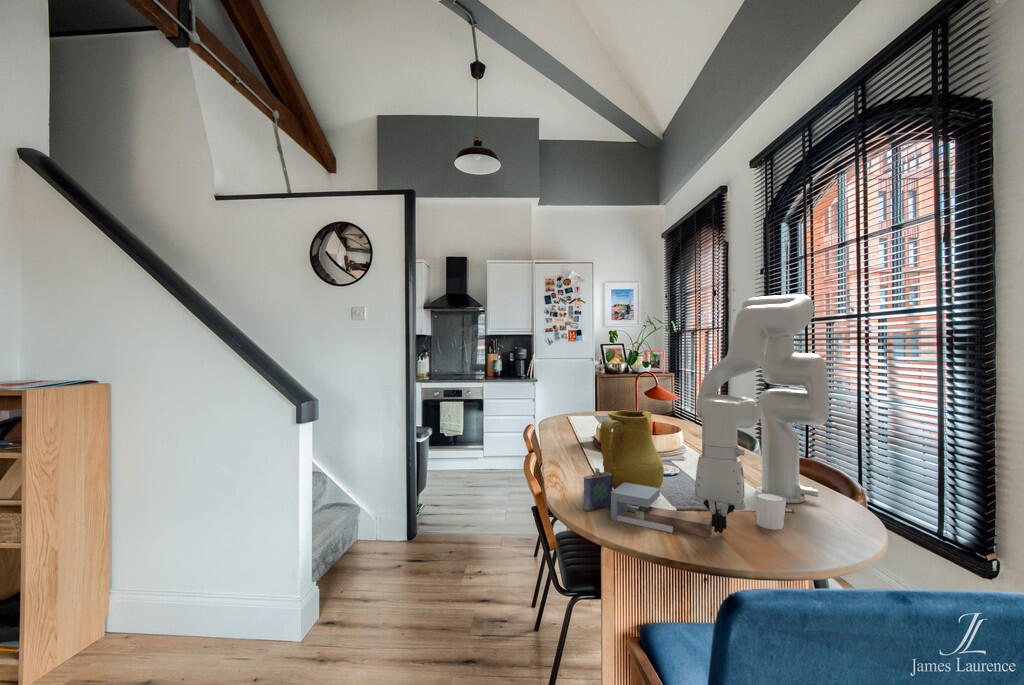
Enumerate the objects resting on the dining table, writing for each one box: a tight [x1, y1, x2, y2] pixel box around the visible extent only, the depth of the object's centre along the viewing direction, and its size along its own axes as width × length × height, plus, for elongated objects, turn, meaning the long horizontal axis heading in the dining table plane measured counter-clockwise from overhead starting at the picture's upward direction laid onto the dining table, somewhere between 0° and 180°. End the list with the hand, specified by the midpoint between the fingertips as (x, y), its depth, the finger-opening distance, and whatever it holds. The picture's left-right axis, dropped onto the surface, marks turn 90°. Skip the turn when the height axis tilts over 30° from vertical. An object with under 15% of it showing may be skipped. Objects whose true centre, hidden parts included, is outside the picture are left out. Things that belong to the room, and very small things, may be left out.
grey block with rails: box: [610, 482, 674, 534], centre depth 114 cm, size 15×10×7 cm, turn 57°
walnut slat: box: [635, 506, 713, 538], centre depth 110 cm, size 17×5×3 cm, turn 60°
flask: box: [583, 467, 613, 513], centre depth 122 cm, size 9×3×11 cm, turn 117°
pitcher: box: [599, 409, 665, 491], centre depth 132 cm, size 17×19×25 cm
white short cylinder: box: [754, 493, 787, 531], centre depth 111 cm, size 7×7×7 cm
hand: (719, 530), depth 104 cm, fingers closed
